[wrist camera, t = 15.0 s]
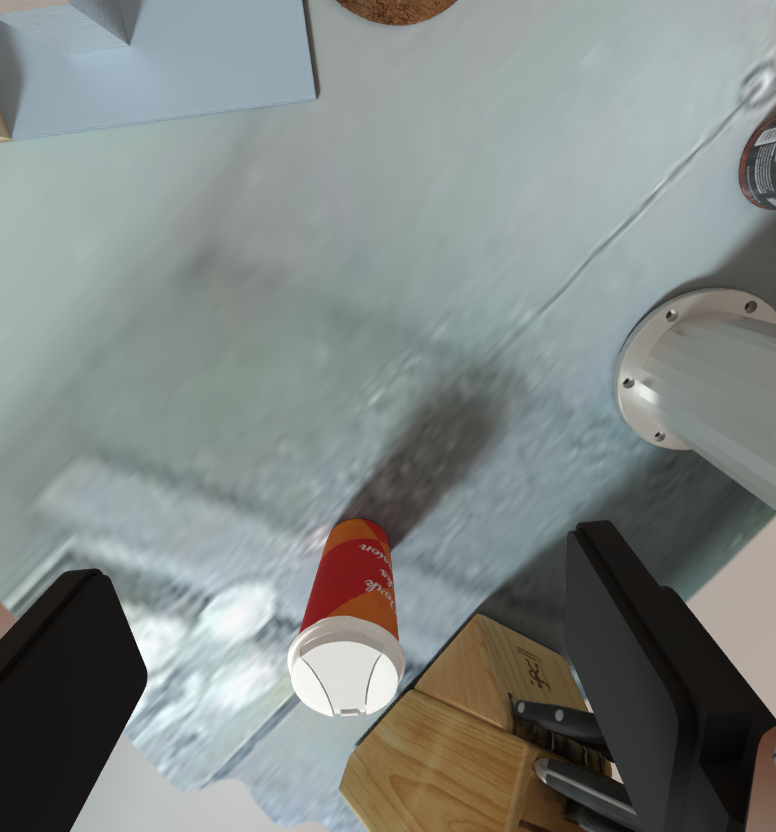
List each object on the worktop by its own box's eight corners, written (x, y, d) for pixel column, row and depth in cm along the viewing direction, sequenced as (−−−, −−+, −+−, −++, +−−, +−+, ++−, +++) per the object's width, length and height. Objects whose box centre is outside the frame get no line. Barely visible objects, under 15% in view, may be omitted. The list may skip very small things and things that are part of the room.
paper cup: (403, 576, 45) (409, 720, 32) (320, 581, 45) (292, 726, 32) (398, 503, 42) (402, 629, 29) (309, 508, 42) (274, 636, 29)
